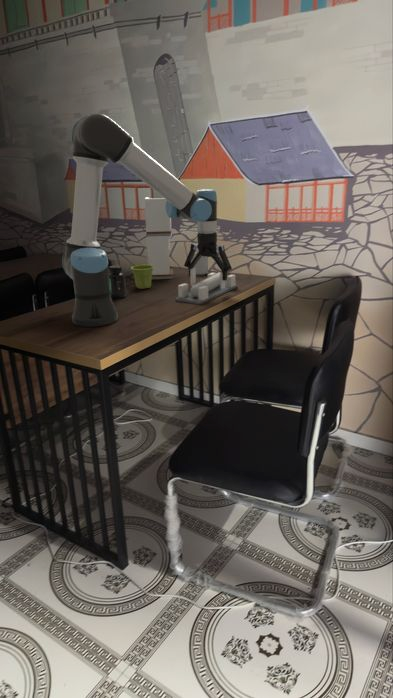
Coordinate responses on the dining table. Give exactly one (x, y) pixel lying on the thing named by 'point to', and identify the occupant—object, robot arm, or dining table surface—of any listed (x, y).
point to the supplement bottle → (117, 282)
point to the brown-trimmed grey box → (158, 237)
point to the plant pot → (143, 275)
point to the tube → (207, 284)
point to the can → (201, 264)
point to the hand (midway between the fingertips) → (207, 286)
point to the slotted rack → (205, 291)
